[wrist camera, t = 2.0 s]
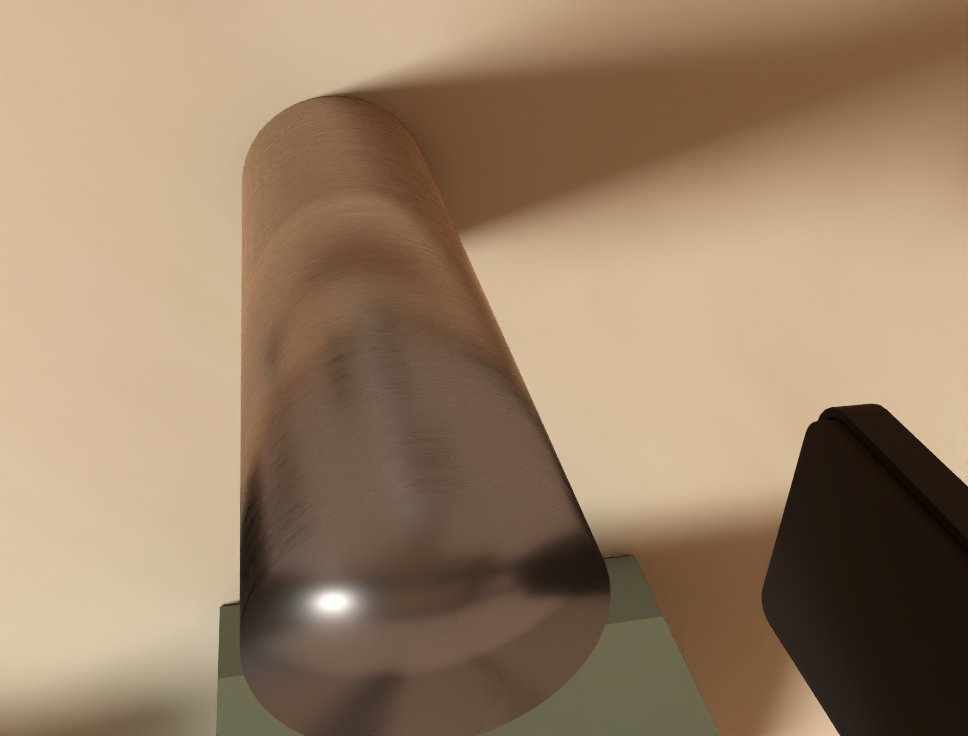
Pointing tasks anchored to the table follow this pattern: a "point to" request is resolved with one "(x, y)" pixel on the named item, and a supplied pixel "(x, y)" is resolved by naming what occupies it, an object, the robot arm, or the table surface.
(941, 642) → the robot arm
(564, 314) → the table surface
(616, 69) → the table surface
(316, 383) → the pin
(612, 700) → the bore block
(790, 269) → the table surface
